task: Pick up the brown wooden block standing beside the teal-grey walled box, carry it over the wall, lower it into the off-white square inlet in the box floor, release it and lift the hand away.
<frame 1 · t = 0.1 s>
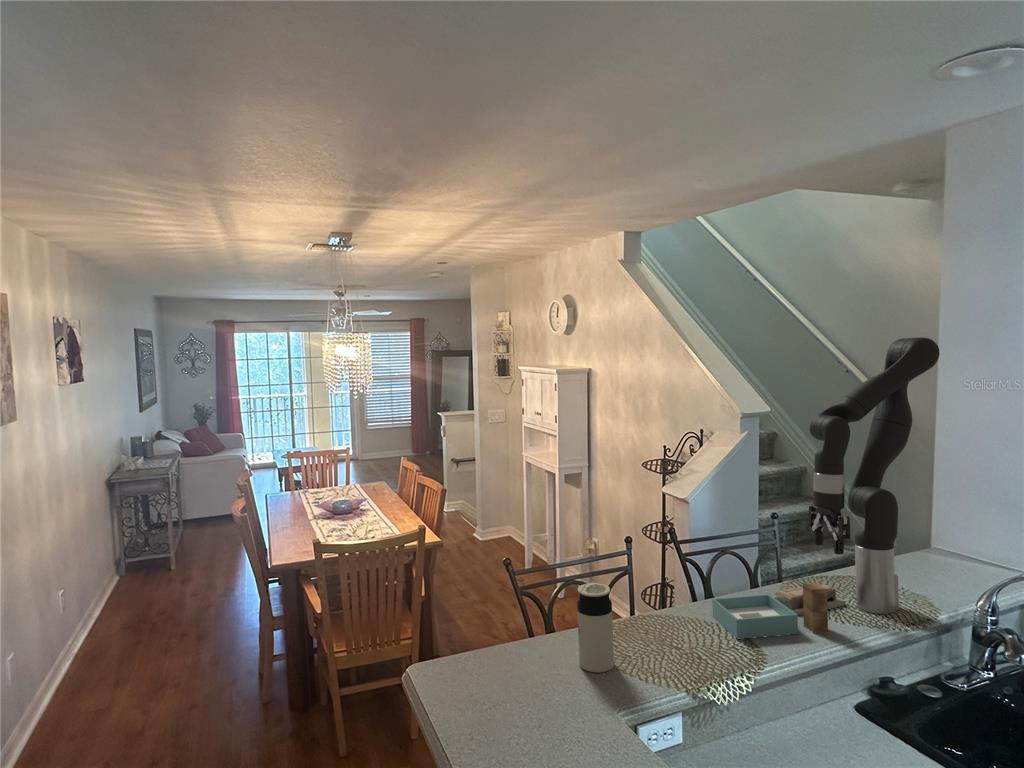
hand: (828, 549, 165), 17 cm above the worktop, tool pointing down, fingers open, 8 cm apart
packaged product: (807, 606, 172), on the worktop
walled box: (753, 625, 160), on the worktop
travel mug: (596, 666, 142), on the worktop
brown wooden block: (815, 629, 156), on the worktop
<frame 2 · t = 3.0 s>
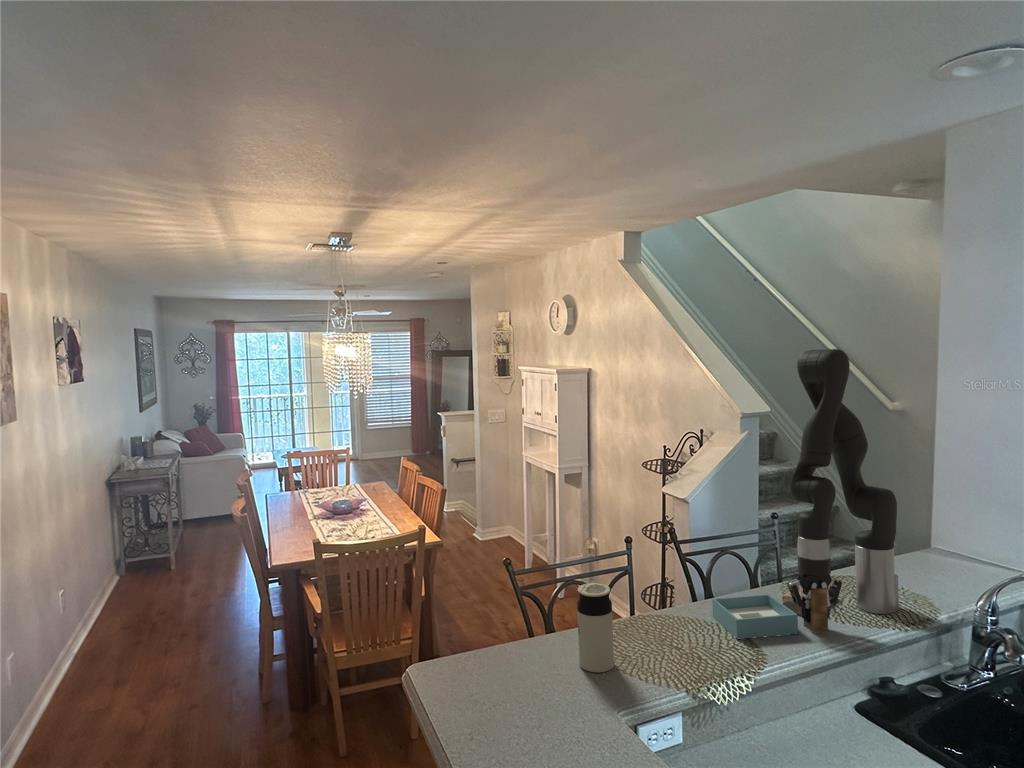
hand: (815, 620, 156), 2 cm above the worktop, tool pointing down, fingers closed on brown wooden block, 4 cm apart
brown wooden block: (815, 629, 156), on the worktop, touching gripper
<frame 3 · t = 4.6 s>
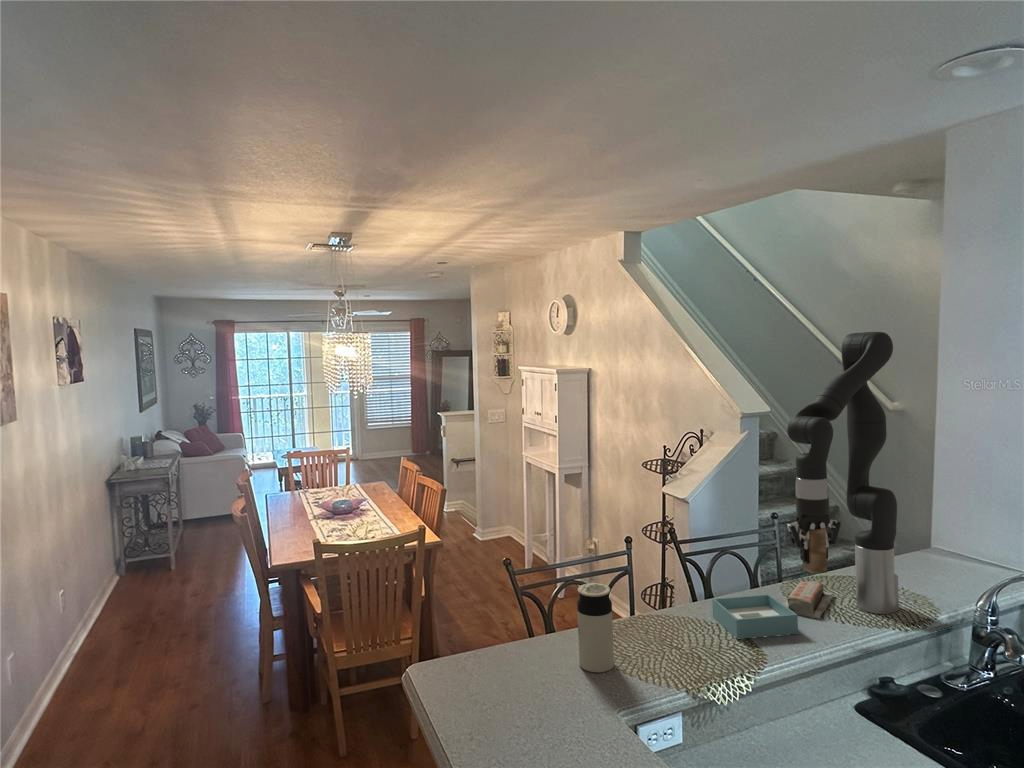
hand: (814, 561, 155), 17 cm above the worktop, tool pointing down, fingers closed on brown wooden block, 4 cm apart
brown wooden block: (814, 570, 156), point 15 cm above the worktop, touching gripper
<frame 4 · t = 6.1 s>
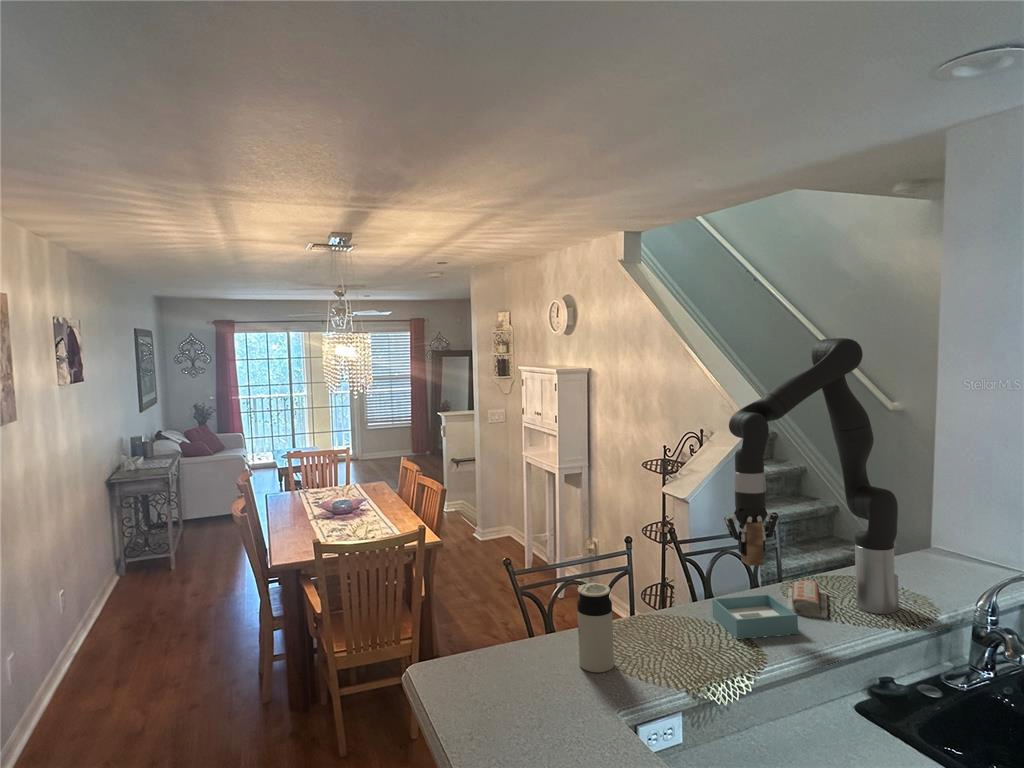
hand: (751, 554, 159), 19 cm above the worktop, tool pointing down, fingers closed on brown wooden block, 4 cm apart
brown wooden block: (752, 562, 159), point 17 cm above the worktop, touching gripper
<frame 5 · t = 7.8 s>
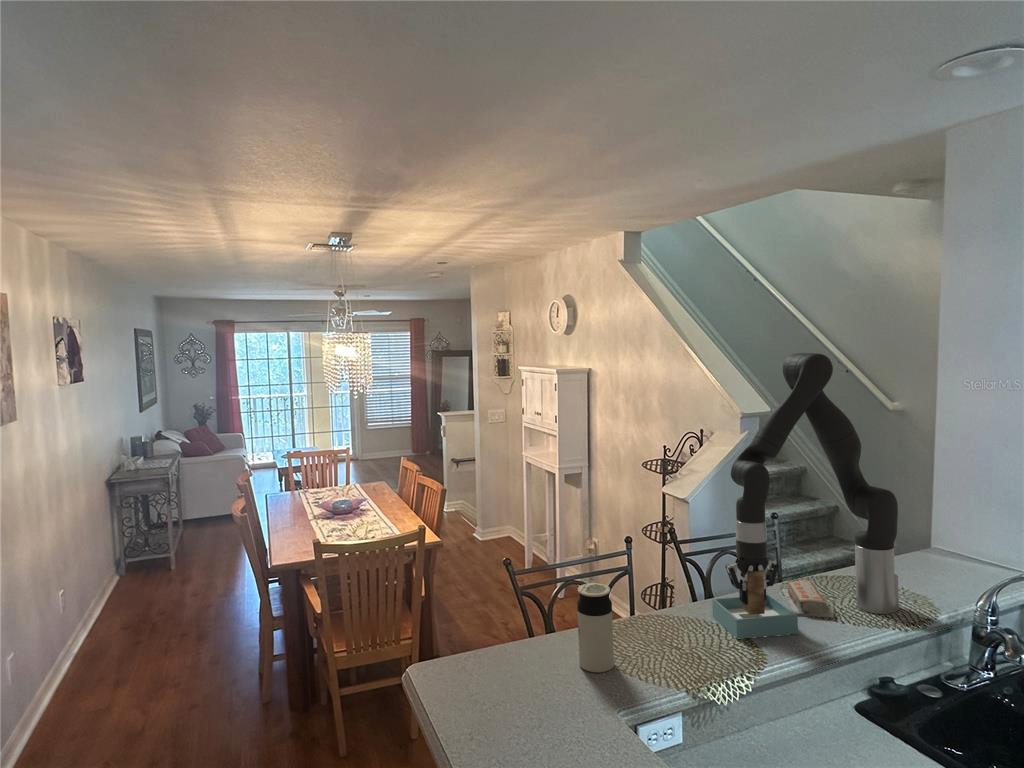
hand: (752, 602, 159), 6 cm above the worktop, tool pointing down, fingers closed on brown wooden block, 4 cm apart
brown wooden block: (753, 611, 159), point 4 cm above the worktop, touching gripper
when the fingers open (3 cm above the worktop, at t = 9.4 s): brown wooden block stays where it is, resting in walled box.
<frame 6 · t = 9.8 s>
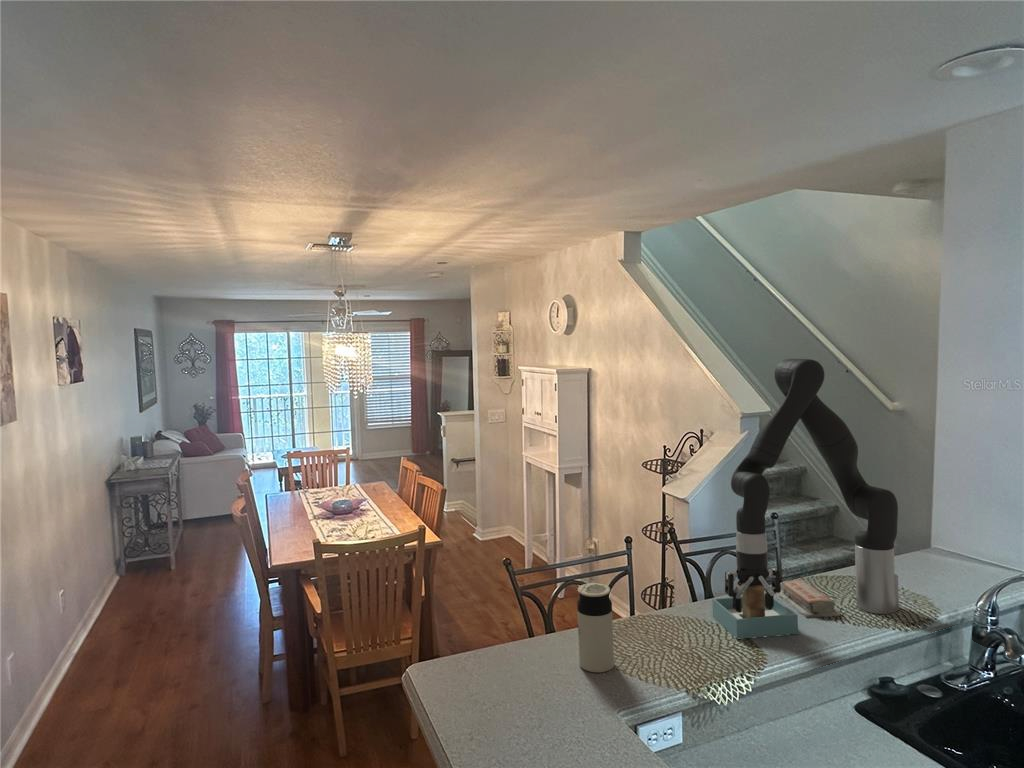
hand: (753, 610, 159), 4 cm above the worktop, tool pointing down, fingers open, 8 cm apart
brown wooden block: (754, 625, 160), resting in walled box
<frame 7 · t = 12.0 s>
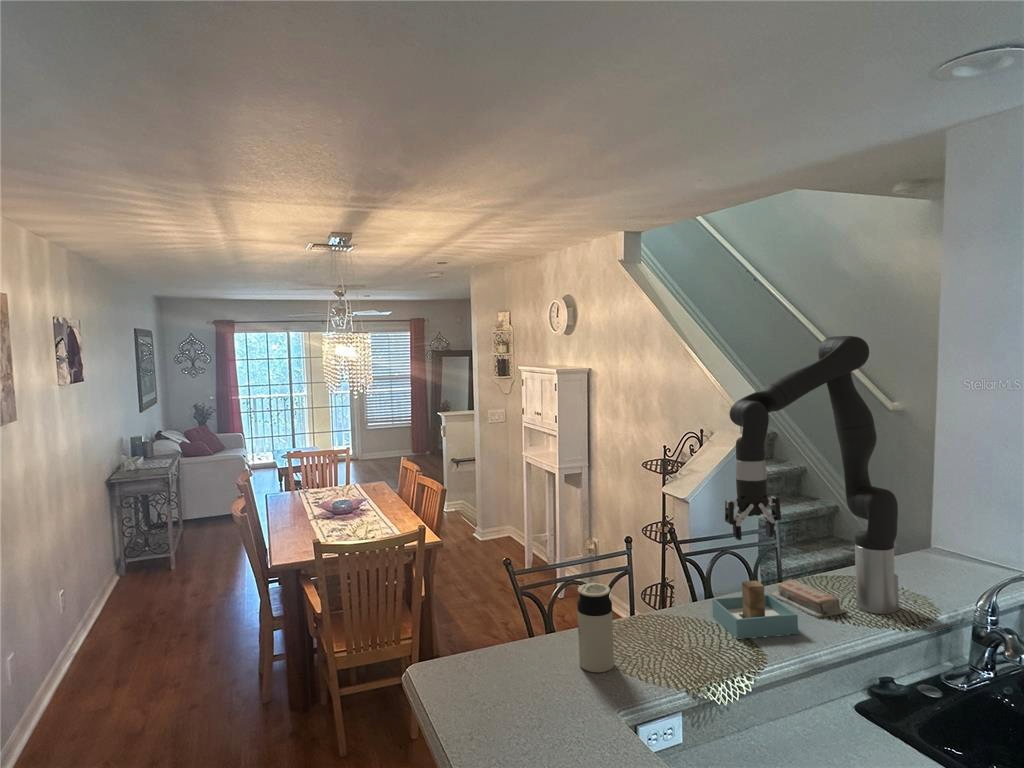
hand: (753, 538, 160), 22 cm above the worktop, tool pointing down, fingers open, 8 cm apart
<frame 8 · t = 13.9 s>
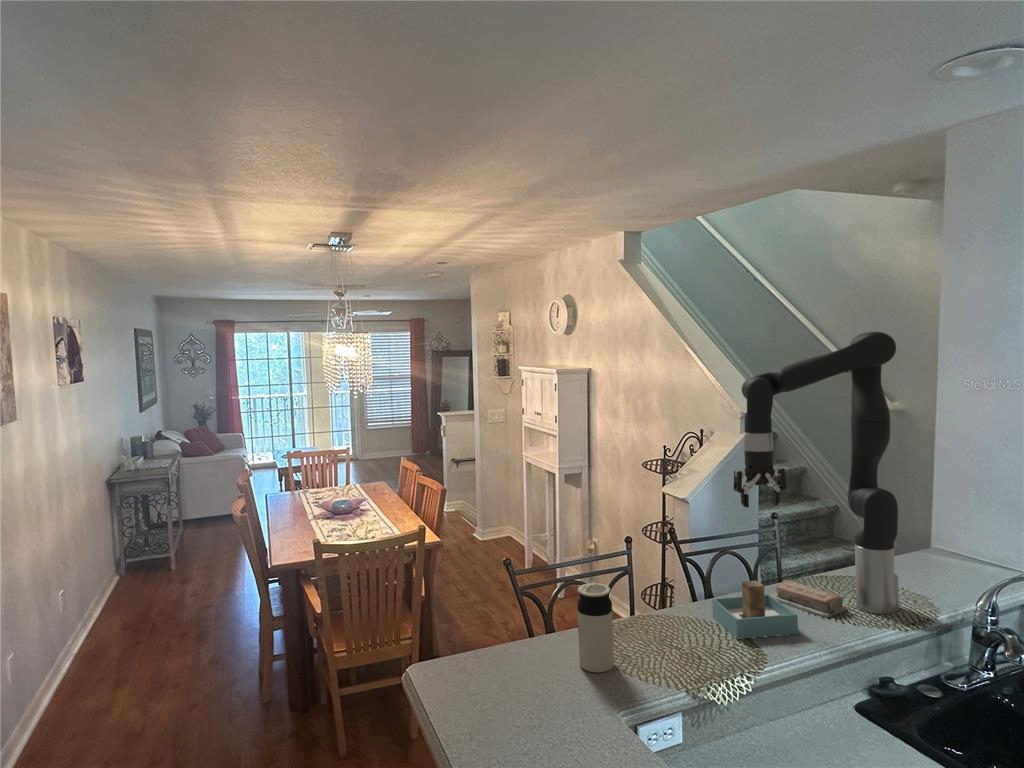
hand: (760, 505, 171), 28 cm above the worktop, tool pointing down, fingers open, 8 cm apart
at the end: brown wooden block 0.1 cm off-centre on the walled box, point 0.0 cm above the walled box's base; brown wooden block tilted 0°; the gripper is holding nothing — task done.
